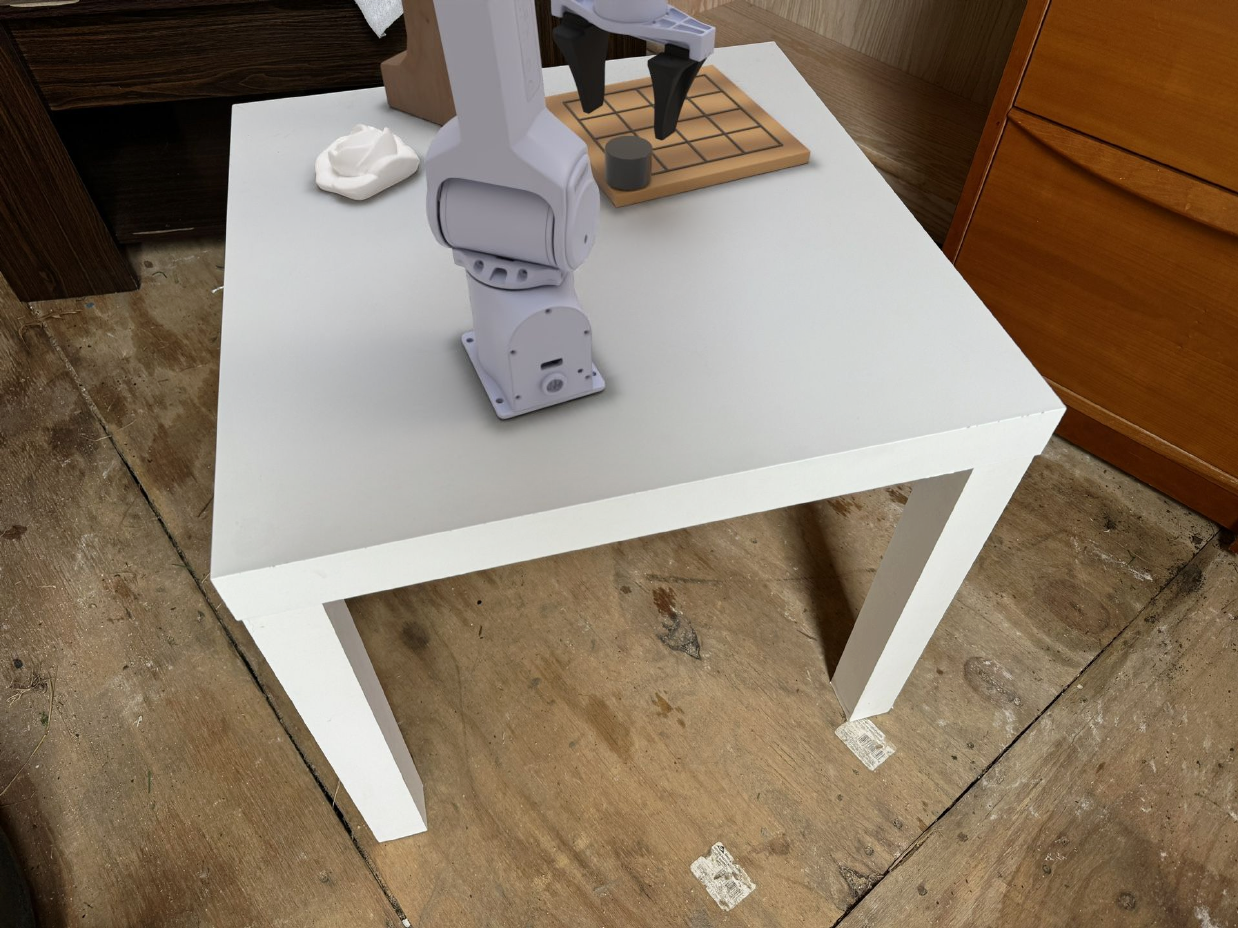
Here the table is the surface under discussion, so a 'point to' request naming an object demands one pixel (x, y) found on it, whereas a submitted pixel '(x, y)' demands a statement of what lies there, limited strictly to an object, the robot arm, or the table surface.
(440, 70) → the wooden block
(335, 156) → the rose
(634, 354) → the table surface
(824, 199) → the table surface
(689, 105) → the board
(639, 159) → the dark grey cylinder puck
